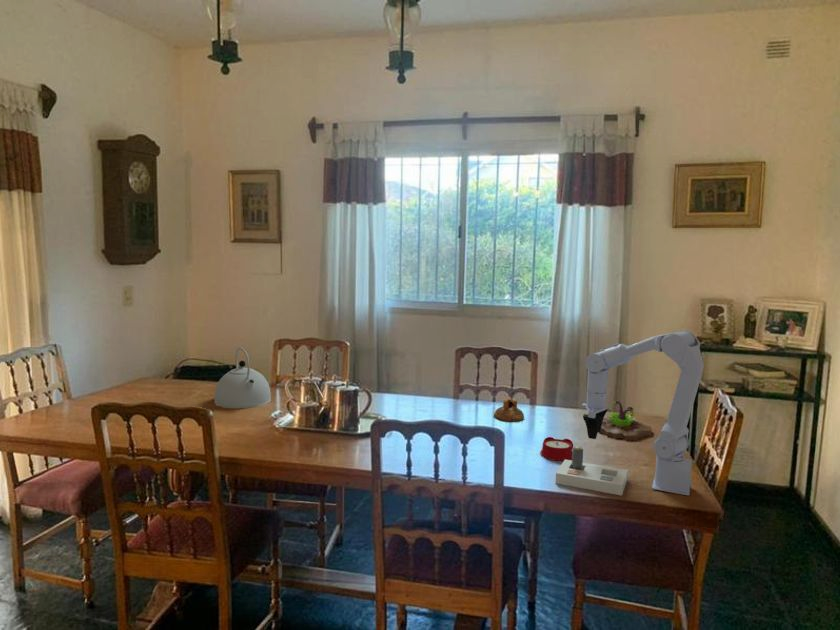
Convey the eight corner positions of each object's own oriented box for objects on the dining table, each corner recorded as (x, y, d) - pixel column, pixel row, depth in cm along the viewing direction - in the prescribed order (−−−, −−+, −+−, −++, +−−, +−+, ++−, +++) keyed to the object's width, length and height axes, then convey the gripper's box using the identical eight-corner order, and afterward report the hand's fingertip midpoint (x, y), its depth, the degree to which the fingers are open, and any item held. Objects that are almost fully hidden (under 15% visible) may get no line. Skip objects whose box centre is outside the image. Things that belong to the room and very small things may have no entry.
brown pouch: (523, 414, 238) (523, 396, 238) (524, 423, 227) (525, 404, 226) (493, 412, 240) (494, 394, 239) (493, 421, 228) (494, 402, 227)
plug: (582, 474, 176) (584, 446, 175) (581, 478, 173) (582, 449, 172) (572, 473, 177) (573, 445, 176) (570, 476, 174) (571, 448, 173)
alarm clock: (539, 449, 187) (543, 425, 201) (538, 466, 190) (542, 441, 203) (573, 453, 185) (575, 428, 198) (572, 470, 187) (574, 445, 200)
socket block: (627, 480, 173) (627, 469, 173) (621, 495, 162) (622, 484, 162) (564, 469, 181) (564, 458, 180) (555, 483, 170) (556, 472, 170)
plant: (614, 420, 233) (616, 392, 231) (660, 434, 217) (662, 403, 216) (580, 429, 221) (582, 399, 220) (626, 444, 205) (628, 412, 204)
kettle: (280, 405, 245) (279, 350, 242) (224, 413, 233) (222, 355, 230) (261, 391, 266) (260, 341, 263) (208, 398, 254) (206, 345, 251)
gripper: (587, 385, 190) (585, 426, 192) (578, 395, 177) (576, 439, 179) (610, 387, 187) (608, 429, 189) (603, 398, 174) (600, 443, 176)
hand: (594, 434), depth 184 cm, fingers open, 7 cm apart
